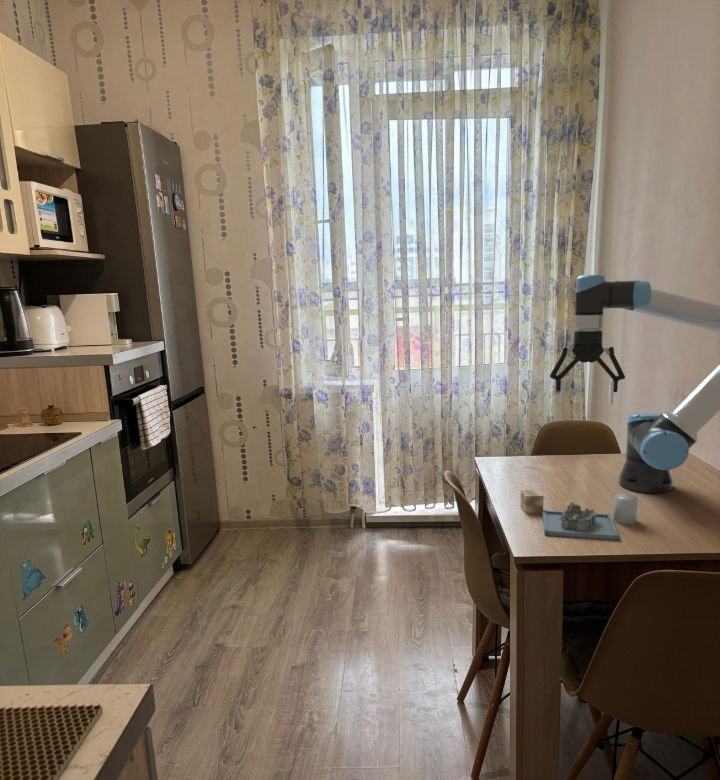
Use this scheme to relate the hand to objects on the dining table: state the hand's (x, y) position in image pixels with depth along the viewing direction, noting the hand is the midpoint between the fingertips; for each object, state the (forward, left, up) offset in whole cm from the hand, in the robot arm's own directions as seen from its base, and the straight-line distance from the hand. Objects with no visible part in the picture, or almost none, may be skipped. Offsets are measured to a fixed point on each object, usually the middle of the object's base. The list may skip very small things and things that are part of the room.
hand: (585, 402), depth 175 cm
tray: (+4, +24, -29) cm, 37 cm away
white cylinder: (-9, +17, -29) cm, 35 cm away
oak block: (+15, +13, -29) cm, 35 cm away
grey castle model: (+3, +23, -28) cm, 37 cm away
